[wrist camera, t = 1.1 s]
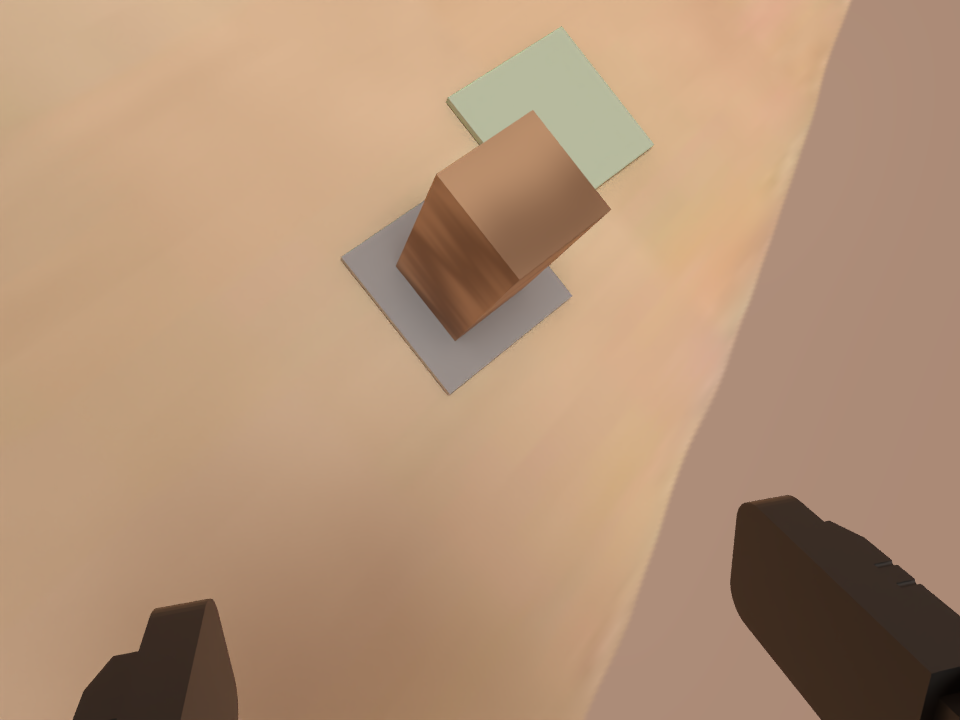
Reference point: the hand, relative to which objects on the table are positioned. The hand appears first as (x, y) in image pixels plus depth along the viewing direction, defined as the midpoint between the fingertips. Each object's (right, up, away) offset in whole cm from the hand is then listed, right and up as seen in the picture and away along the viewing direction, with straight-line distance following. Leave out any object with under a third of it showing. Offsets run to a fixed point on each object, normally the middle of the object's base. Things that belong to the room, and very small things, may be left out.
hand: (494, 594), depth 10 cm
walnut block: (-1, +8, +27) cm, 28 cm away
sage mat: (+4, +17, +30) cm, 35 cm away
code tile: (-1, +8, +27) cm, 28 cm away
